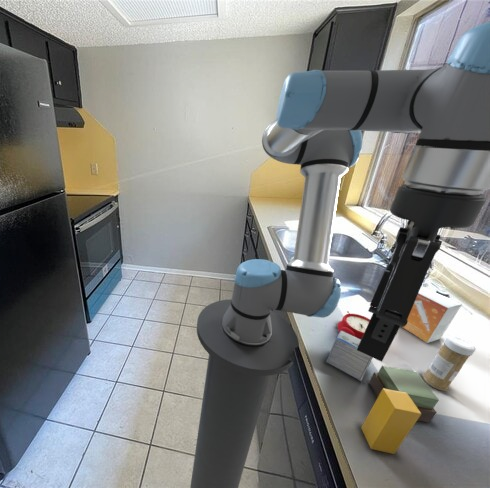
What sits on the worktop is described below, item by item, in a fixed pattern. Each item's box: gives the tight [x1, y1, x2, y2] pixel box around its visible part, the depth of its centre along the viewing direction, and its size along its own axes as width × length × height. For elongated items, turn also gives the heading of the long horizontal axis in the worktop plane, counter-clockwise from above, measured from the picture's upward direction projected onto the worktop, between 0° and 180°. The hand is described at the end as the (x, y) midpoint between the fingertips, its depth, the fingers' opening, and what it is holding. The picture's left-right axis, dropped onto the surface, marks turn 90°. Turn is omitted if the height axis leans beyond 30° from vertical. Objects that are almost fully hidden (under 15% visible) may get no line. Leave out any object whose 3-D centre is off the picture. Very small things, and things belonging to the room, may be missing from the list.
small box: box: [402, 288, 463, 344], centre depth 78 cm, size 8×6×13 cm
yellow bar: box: [360, 388, 421, 455], centre depth 49 cm, size 4×4×12 cm
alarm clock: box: [337, 311, 371, 339], centre depth 76 cm, size 10×6×15 cm
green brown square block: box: [368, 365, 440, 424], centre depth 58 cm, size 8×8×6 cm
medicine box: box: [325, 331, 374, 382], centre depth 65 cm, size 8×4×9 cm, turn 44°
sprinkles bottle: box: [422, 334, 477, 391], centre depth 61 cm, size 5×5×14 cm
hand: (375, 328), depth 39 cm, fingers open, 13 cm apart
